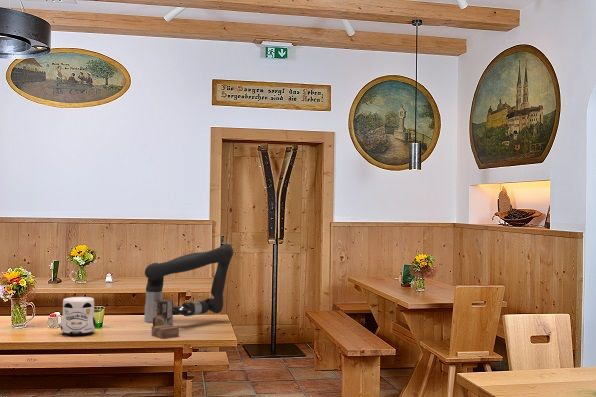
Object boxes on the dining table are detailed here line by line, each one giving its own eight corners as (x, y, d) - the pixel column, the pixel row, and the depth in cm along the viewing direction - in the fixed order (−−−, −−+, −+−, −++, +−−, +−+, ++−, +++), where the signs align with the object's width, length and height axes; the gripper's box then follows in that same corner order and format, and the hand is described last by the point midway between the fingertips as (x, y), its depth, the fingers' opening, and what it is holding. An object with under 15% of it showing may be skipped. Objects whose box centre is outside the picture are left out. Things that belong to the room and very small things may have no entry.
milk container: (71, 338, 355) (72, 302, 355) (54, 333, 367) (54, 298, 367) (101, 334, 368) (102, 299, 368) (84, 329, 380) (84, 295, 380)
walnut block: (151, 336, 367) (151, 326, 367) (168, 333, 374) (168, 324, 374) (161, 339, 359) (161, 329, 359) (178, 337, 366) (178, 327, 366)
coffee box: (173, 330, 383) (173, 300, 383) (167, 332, 377) (167, 301, 377) (158, 328, 386) (158, 299, 386) (152, 330, 380) (152, 300, 380)
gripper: (183, 300, 400) (160, 303, 388) (199, 303, 391) (176, 306, 379) (183, 313, 400) (159, 316, 388) (199, 317, 391) (175, 320, 379)
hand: (167, 311), depth 383 cm, fingers open, 8 cm apart
